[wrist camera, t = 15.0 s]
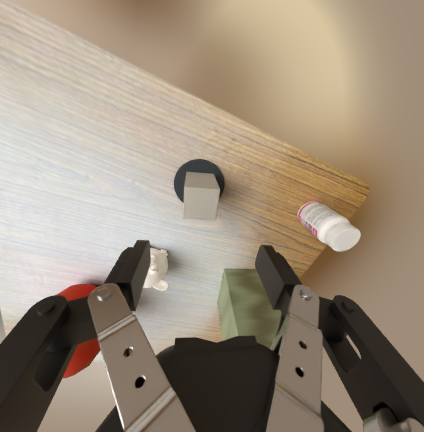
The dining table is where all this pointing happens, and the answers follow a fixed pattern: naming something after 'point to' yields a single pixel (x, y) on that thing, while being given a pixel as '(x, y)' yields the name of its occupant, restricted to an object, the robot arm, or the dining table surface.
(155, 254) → the figurine
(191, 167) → the coaster
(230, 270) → the stand
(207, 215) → the block
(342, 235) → the pill bottle
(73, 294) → the apple
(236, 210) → the dining table surface
